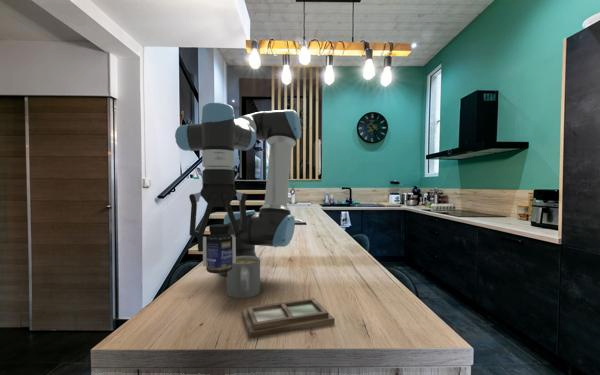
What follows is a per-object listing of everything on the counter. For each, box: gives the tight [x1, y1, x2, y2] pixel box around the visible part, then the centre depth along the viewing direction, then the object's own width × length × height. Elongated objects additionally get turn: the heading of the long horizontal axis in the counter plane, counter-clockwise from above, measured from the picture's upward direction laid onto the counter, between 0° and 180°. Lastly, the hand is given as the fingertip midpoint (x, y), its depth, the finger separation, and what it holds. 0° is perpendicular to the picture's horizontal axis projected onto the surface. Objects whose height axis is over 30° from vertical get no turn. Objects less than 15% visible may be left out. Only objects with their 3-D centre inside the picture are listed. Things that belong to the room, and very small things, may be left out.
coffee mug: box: [226, 255, 261, 299], centre depth 86 cm, size 13×10×10 cm
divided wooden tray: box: [242, 297, 335, 339], centre depth 70 cm, size 12×20×2 cm, turn 109°
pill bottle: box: [205, 223, 232, 275], centre depth 69 cm, size 6×6×11 cm
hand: (219, 262), depth 69 cm, fingers closed on pill bottle, 6 cm apart
